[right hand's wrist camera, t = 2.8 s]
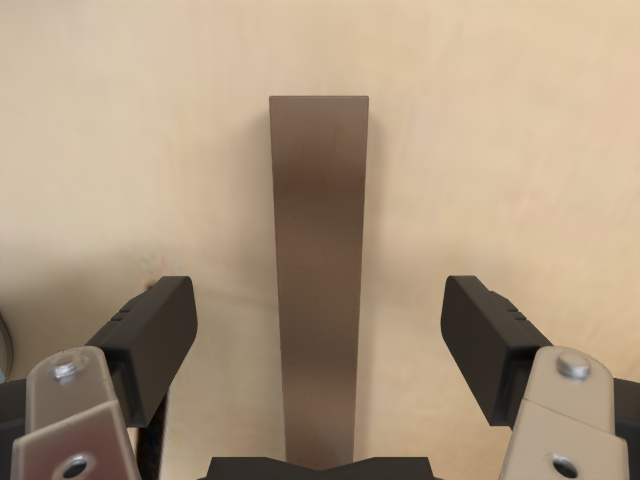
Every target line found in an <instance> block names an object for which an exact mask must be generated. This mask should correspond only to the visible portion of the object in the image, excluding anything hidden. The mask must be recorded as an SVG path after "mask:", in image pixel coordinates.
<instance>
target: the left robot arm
mask: <svg viewBox="0 0 640 480" xmlns="http://www.w3.org/2000/svg"><path fill="white" fill-rule="evenodd" d="M11 366H12V346H11V342H10V338H9V335H8V332H7V330H6V328H5V326H4V323H3V322H2V320H1V318H0V384H1V383H5V382H6V380H7V378H8V376H9V374H10V370H11Z"/></svg>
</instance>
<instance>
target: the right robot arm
mask: <svg viewBox="0 0 640 480" xmlns="http://www.w3.org/2000/svg"><path fill="white" fill-rule="evenodd" d="M197 325H198V322H197V314H196V306H195V299H194V292H193V285H192V281H191V279H190V277H189V276H163V277H162V278H161V279H160V280H159V281H158V282H157V283H156V284H155V285H154V286H153V287H152V288H151V289H150V290H149V292H144V293H142V294H140V295H138V296H136V297H135V298H133V299H131V300H129V301H128V302H127V303H126V304H125V305H124V306H123V307H122V308H121V309H120V310H119V313H116V314H115V315H114V316H113V317H112V318H111V321H108V322H107V323H106V324H105V325H104V326H103V327H102V328H101V329H100V330H99V331H98V332H97V333H96V334H95V335H94V336H93V337H92V338H91V339H90V340H89V341H88V342H87V343H86V344H85V345H84V346H80V347H74V348H70V349H66V350H63V351H60V352H58V353H55V354H53V355H51V356H49V357H47V358H46V359H44V360H42V361H41V362H40V363H38V364H37V365H36V366H35V367H34V368H33V369H32V370H31V371H30V372H29V374H28V376H27V378H25V379H21V380H16V381H11V382H6V383H1V384H0V480H141V477H140V473H139V470H138V466H137V463H136V459H135V456H134V453H133V449H132V446H131V442H130V439H129V435H128V432H127V428H128V427H147V426H148V424H149V423H150V421H151V419H152V417H153V415H154V414H155V412H156V410H157V408H158V406H159V404H160V403H161V401H162V399H163V397H164V395H165V393H166V392H167V390H168V388H169V386H170V384H171V382H172V381H173V379H174V377H175V375H176V373H177V371H178V370H179V368H180V366H181V364H182V362H183V360H184V359H185V357H186V355H187V353H188V351H189V349H190V348H191V346H192V344H193V342H194V340H195V337H196V334H197ZM441 332H442V336H443V339H444V341H445V343H446V345H447V347H448V349H449V350H450V352H451V354H452V356H453V358H454V360H455V362H456V363H457V365H458V367H459V369H460V371H461V373H462V375H463V376H464V378H465V380H466V382H467V384H468V386H469V388H470V389H471V391H472V393H473V395H474V397H475V399H476V401H477V402H478V404H479V406H480V408H481V410H482V412H483V414H484V415H485V417H486V419H487V421H488V423H489V425H490V426H510V428H511V430H512V431H513V432H512V435H511V439H510V442H509V446H508V449H507V453H506V456H505V459H504V463H503V466H502V470H501V473H500V477H499V480H640V383H637V382H632V381H627V380H622V379H617V378H613V376H612V374H611V372H610V371H609V370H608V369H607V368H606V367H605V366H604V365H603V364H602V363H600V362H599V361H598V360H596V359H594V358H593V357H591V356H589V355H587V354H585V353H582V352H580V351H577V350H574V349H570V348H566V347H560V346H554V345H553V344H552V343H551V342H550V341H549V340H548V339H547V338H546V337H545V336H544V335H543V334H542V333H541V332H540V331H539V330H538V329H537V328H536V327H535V326H534V325H533V324H532V323H531V322H530V321H529V320H527V318H526V317H525V316H524V315H523V314H522V313H521V312H518V309H517V308H516V307H515V306H514V305H513V304H512V303H511V302H510V301H509V300H508V299H506V298H504V297H502V296H501V295H499V294H497V293H495V292H493V291H489V290H488V289H487V288H486V287H485V286H484V285H483V284H482V283H481V282H480V281H479V280H478V278H477V277H475V276H449V277H448V278H447V280H446V285H445V292H444V299H443V307H442V314H441ZM197 480H443V479H440V478H436V477H434V476H433V473H432V470H431V467H430V463H429V460H428V457H373V458H369V459H366V460H362V461H358V462H354V463H350V464H346V465H342V466H338V467H334V468H331V469H327V470H313V469H309V468H306V467H302V466H298V465H294V464H290V463H286V462H282V461H278V460H274V459H271V458H267V457H212V460H211V463H210V467H209V470H208V473H207V476H206V477H204V478H200V479H197Z"/></svg>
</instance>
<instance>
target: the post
mask: <svg viewBox="0 0 640 480" xmlns="http://www.w3.org/2000/svg"><path fill="white" fill-rule="evenodd" d="M269 108H270V130H271V151H272V173H273V195H274V216H275V238H276V260H277V281H278V303H279V325H280V346H281V368H282V390H283V411H284V433H285V455H286V463H290V464H294V465H298V466H302V467H306V468H309V469H313V470H327V469H331V468H334V467H338V466H342V465H346V464H350V463H353V447H354V425H355V402H356V380H357V357H358V334H359V312H360V289H361V267H362V244H363V222H364V199H365V177H366V154H367V132H368V109H369V97H368V96H270V97H269Z"/></svg>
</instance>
